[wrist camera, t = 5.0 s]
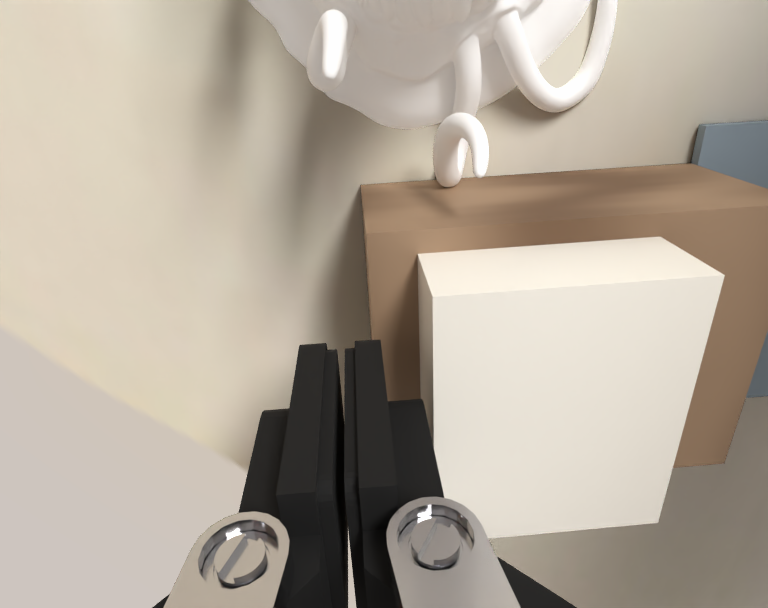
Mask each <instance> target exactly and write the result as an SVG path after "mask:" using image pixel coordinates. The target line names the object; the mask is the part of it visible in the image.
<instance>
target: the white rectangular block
mask: <svg viewBox="0 0 768 608" xmlns="http://www.w3.org/2000/svg"><path fill="white" fill-rule="evenodd" d="M724 276H725V275H724V274H722V273H720V272H719V271H717V270H715V269H714V268H712V267H710V266H709V265H707V264H705V263H704V262H702V261H700V260H699V259H697V258H695V257H694V256H692V255H690V254H689V253H687V252H685V251H684V250H682V249H680V248H679V247H677V246H675V245H674V244H672V243H670V242H669V241H667V240H665V239H664V238H662V237H647V238H633V239H619V240H605V241H591V242H577V243H563V244H549V245H535V246H521V247H507V248H493V249H479V250H465V251H451V252H437V253H423V254H418V300H419V347H420V393H421V399H422V400H423V402H424V406H425V410H426V415H427V420H428V424H429V429H430V433H431V438H432V443H433V447H434V452H435V456H436V461H437V466H438V470H439V475H440V480H441V484H442V489H443V493H444V498H447V499H451V500H453V501H456V502H458V503H460V504H462V505H464V506H465V507H466V508H468V509H469V510H470V511H471V512H473V513H474V514H475V516H476V517H477V519H478V520H479V522H480V523H481V524H482V526H483V528H484V531H485V533H486V535H487V537H488V539H492V538H502V537H513V536H524V535H534V534H545V533H556V532H566V531H577V530H588V529H599V528H609V527H620V526H631V525H641V524H652V523H658V521H659V517H660V514H661V510H662V506H663V502H664V499H665V495H666V491H667V488H668V484H669V480H670V476H671V473H672V469H673V465H674V462H675V458H676V454H677V451H678V447H679V443H680V439H681V436H682V432H683V428H684V425H685V421H686V417H687V413H688V410H689V406H690V402H691V399H692V395H693V391H694V388H695V384H696V380H697V376H698V373H699V369H700V365H701V362H702V358H703V354H704V350H705V347H706V343H707V339H708V336H709V332H710V328H711V324H712V321H713V317H714V313H715V310H716V306H717V302H718V299H719V295H720V291H721V287H722V284H723V280H724Z"/></svg>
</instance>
